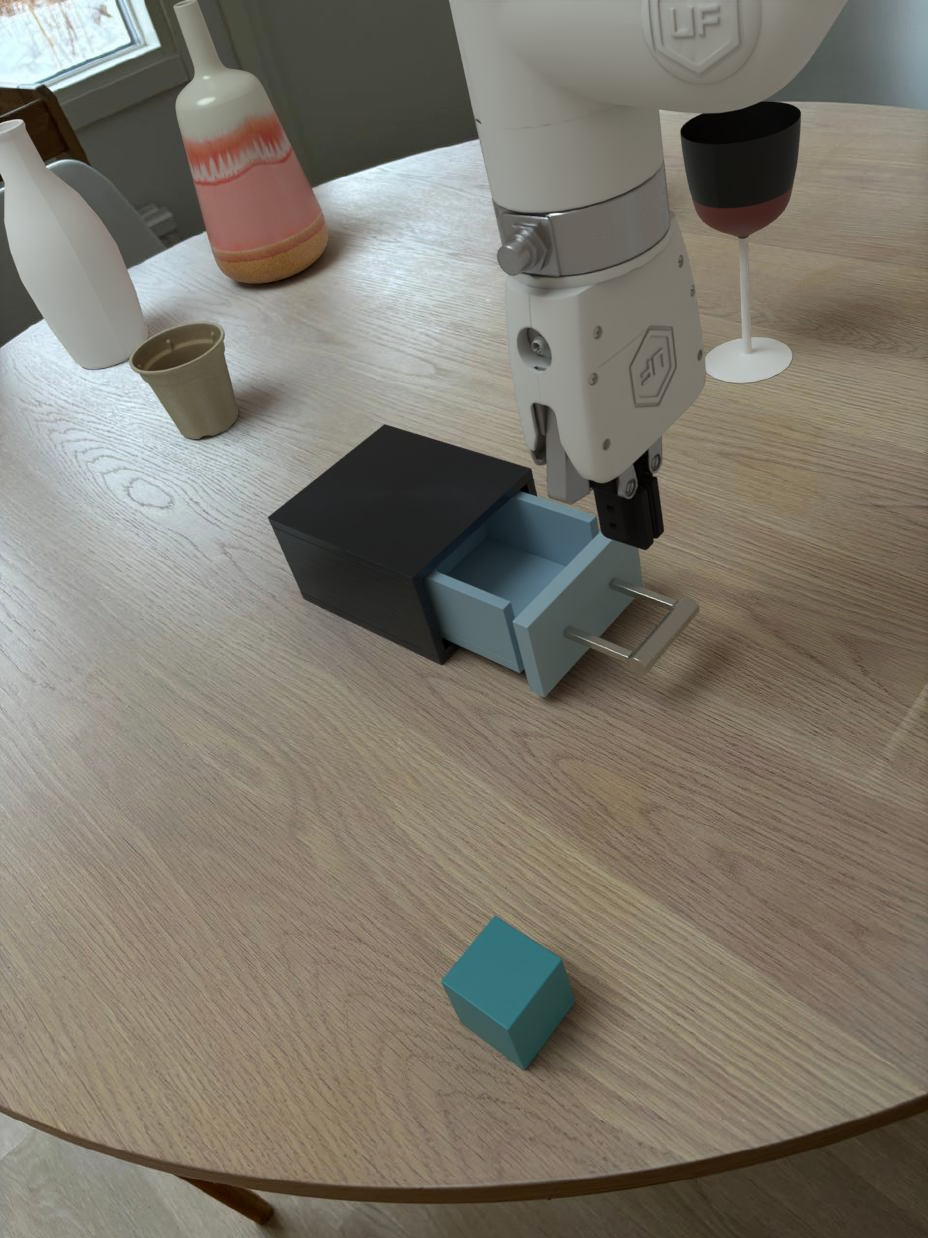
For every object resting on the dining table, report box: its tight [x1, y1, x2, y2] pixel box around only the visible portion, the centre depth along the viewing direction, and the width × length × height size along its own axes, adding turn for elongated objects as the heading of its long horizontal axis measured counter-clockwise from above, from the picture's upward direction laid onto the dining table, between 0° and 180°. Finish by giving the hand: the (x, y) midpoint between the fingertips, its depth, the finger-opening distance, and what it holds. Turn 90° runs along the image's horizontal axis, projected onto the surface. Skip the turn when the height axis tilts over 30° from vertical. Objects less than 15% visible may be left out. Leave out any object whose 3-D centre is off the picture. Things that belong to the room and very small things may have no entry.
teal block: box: [440, 915, 576, 1071], centre depth 49 cm, size 4×4×4 cm
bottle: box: [0, 118, 149, 370], centre depth 111 cm, size 11×11×25 cm
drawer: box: [423, 491, 700, 698], centre depth 67 cm, size 20×11×6 cm, turn 50°
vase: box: [173, 0, 330, 285], centre depth 117 cm, size 14×14×30 cm
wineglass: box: [679, 100, 802, 384], centre depth 82 cm, size 8×9×20 cm
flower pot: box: [128, 321, 240, 440], centre depth 99 cm, size 9×9×9 cm
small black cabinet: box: [267, 423, 538, 666], centre depth 74 cm, size 15×13×8 cm
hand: (632, 535), depth 57 cm, fingers closed
